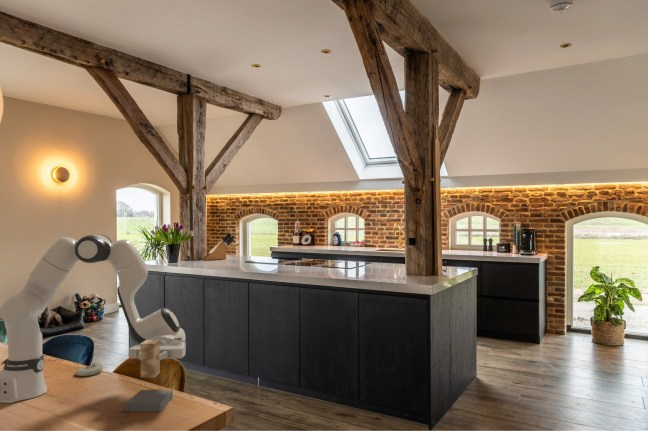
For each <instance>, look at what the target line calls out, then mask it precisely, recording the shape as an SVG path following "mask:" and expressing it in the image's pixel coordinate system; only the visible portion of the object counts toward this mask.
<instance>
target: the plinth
mask: <svg viewBox="0 0 648 431" xmlns="http://www.w3.org/2000/svg"><path fill="white" fill-rule="evenodd" d="M173 394H174V392H173V390H171V389H157V390H156V389H140V390H139V391H138V392H137V393H136V394H134V395H133V396H132V397H131V398H130V399H129V400H128V401H127V402H125V403H126V404H125V406H126V407H125V408H126V409H125V410H126V412H136V413H137V412H138V413H139V412H140V413H141V412H146V413H147V412H154V413H156V412H157V413H161V412H162V411H163V409H165V407H167V405H168V404H169V403H170V402H171V401H172V400H173V399H172V398H173ZM171 399H172V400H171ZM170 400H171V401H170ZM169 401H170V402H169ZM168 402H169V403H168Z"/></svg>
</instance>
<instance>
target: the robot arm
mask: <svg viewBox="0 0 648 431" xmlns="http://www.w3.org/2000/svg"><path fill="white" fill-rule="evenodd" d="M79 261H81V262H83V263H86V264H95V263H99V262H104V261H105V262H108V263H109V264H111V266H112V268H113V269H114V271H115V272H116V274H117V276H118V282H119V283H118V284H119V285H118V287H117V289H116V291H117V292H116V293H117V296H118V300H119V303H120V305H121V308H122V311H123V314H124V317H125V319H126V323H127V325H128V326H127V327H128V331H129V336H130V338H131V341H132V342H134V343H135V345H133V346H131V347H130V348H129V349H128V358H129V359H138V360H139V361H141V352H140V344H141V343H142V342H144V341H145V340H160V354H157V355H156V357H157V358H156V360H160V361H161V360H166V359H183V358H184V357H185V356H186V351H187V343H186V342H187V341H186V333H185V330H184V329H183V328H181V324H180V323H181V322H180V320H179V318H178V316H177V314H176V313H175V312H174V311H172V310H171V309H169V308H166V307H162V308H160V309H157V310H156V311H154V312H152V313H150V314H149V315H146V316H145V317H143V318H141V317H140V314H139V311H138V309H137V306H136V303H135V296H136V294H137V292H138V290H139V289H140V288H141V287H142V286H143V284H144V283H145V282H146V280H147V278H148V274H149V269H148V267H147V264H146V262H145V260H144V259H143V257H142V255H141V253H140V252H139V251H138V250H137V247H135V246H134V244H133V243H132V242H131V241H130V240H128V239H119V240H116V241H114V242H113V241H112V240H111V238H110V237H109V236H106V235H104V234H96V233H93V234H90V235H85V236H82V237H81V238H80V239H78V240H76V239H74V238H72V237H68V236H63V237H60V238H59V239H57V240H56V241H55V242H54V243H52V245H51V246H50V247H49V248H48V249H47V250H46V251H45V253H44V254H43V256H42V257H41V258H40V259H39V261H38V262H37V264H36V265H35V266H34V268H33V269H32V271H31V272H30V274H29V277H28V279H27V280H26V282H25V285H24V286H23V288H22V289H21V290H20V292H18V293H16V294H15V295H12V296H11V297H8V298H7V299H6V300H5V301H4V302H3V304H2V305H1V307H0V318H1V320H2V321H3V322H4V327H5V330H6V331H5V332H6V334H7V335H6V336H7V357H8V358H6V359H4V360H3V361H1V362H0V366H3V367H2V369H1V370H0V403H1V404H13V403H16V402H20V401H24V400H29V399H34V398H36V397H39V396H42V395H44V394H45V393H46V392H47V391H48V387H47V385H46V380H45V376H44V375H45V374H44V366H45V365H44V360H45V359H44V357H45V356H44V354H43V333H42V331H41V330H40V324H39V320H38V319H39V318H38V317H39V316H40V315H42V314H43V313H44V311H45V310H46V308H47V307H48V306H49V304H50V303H51V300H52V299H53V297H54V296H55V294H56V292H57V290H58V289H59V287H60V285H61V284H62V283H63V282H64V281H65V279H66V277H67V276H68V274H69V273H70V272H71V270H72V269H73V267H74V266H75V265H76V263H77V262H79Z"/></svg>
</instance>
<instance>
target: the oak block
mask: <svg viewBox="0 0 648 431" xmlns="http://www.w3.org/2000/svg"><path fill="white" fill-rule="evenodd" d="M140 352H141V360H140V378H156V377H157V376H158V375H159V374H160V373H161V360H156V358H157V357H156V355H157V354H160V340H155V339H154V340H145V341H144V342H142V343H141V344H140Z"/></svg>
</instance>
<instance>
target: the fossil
mask: <svg viewBox="0 0 648 431" xmlns="http://www.w3.org/2000/svg"><path fill="white" fill-rule="evenodd" d="M103 369H104V366H103V365H102V364H101V363H99V362H94V363H91V365H88V366H81V367H79V368H77V369H76V371H75V374H76V376H78V377H91V376H95V375H97V374H99V373H101V372H102V371H103Z"/></svg>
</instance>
